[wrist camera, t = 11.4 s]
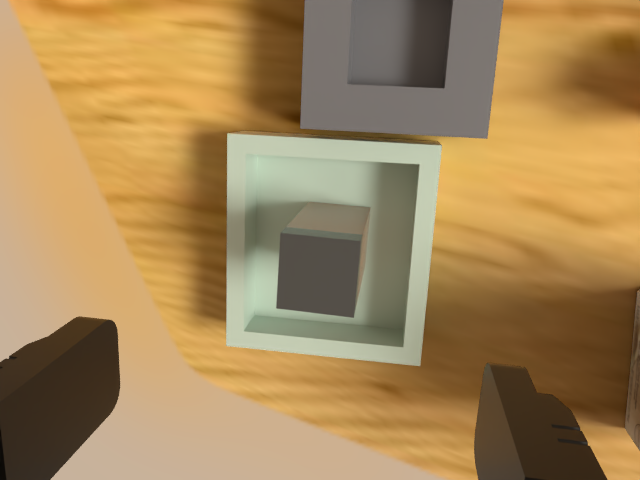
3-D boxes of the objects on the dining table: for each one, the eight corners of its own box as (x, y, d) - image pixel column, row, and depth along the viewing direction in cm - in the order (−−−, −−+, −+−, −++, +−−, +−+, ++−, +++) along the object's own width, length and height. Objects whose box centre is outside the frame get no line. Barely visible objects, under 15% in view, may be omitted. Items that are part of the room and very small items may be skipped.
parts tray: (243, 130, 32) (227, 133, 29) (437, 141, 30) (441, 145, 28) (241, 325, 35) (226, 345, 32) (418, 342, 33) (420, 366, 30)
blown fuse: (309, 201, 32) (280, 232, 24) (370, 207, 31) (361, 241, 24) (305, 260, 33) (276, 308, 25) (365, 266, 32) (353, 317, 24)
